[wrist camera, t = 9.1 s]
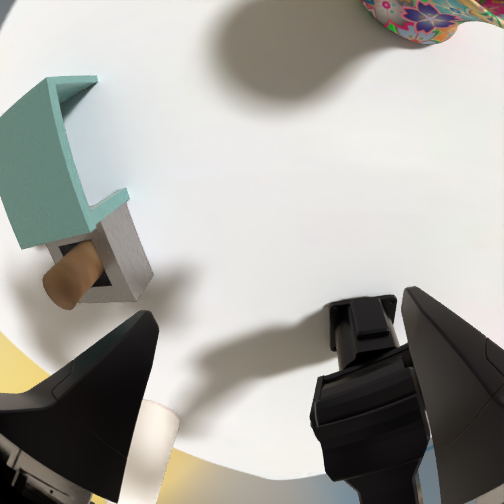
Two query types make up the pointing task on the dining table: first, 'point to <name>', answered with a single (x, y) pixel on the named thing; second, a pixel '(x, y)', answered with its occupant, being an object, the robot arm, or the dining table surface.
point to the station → (65, 194)
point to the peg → (73, 275)
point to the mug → (433, 16)
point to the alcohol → (148, 454)
